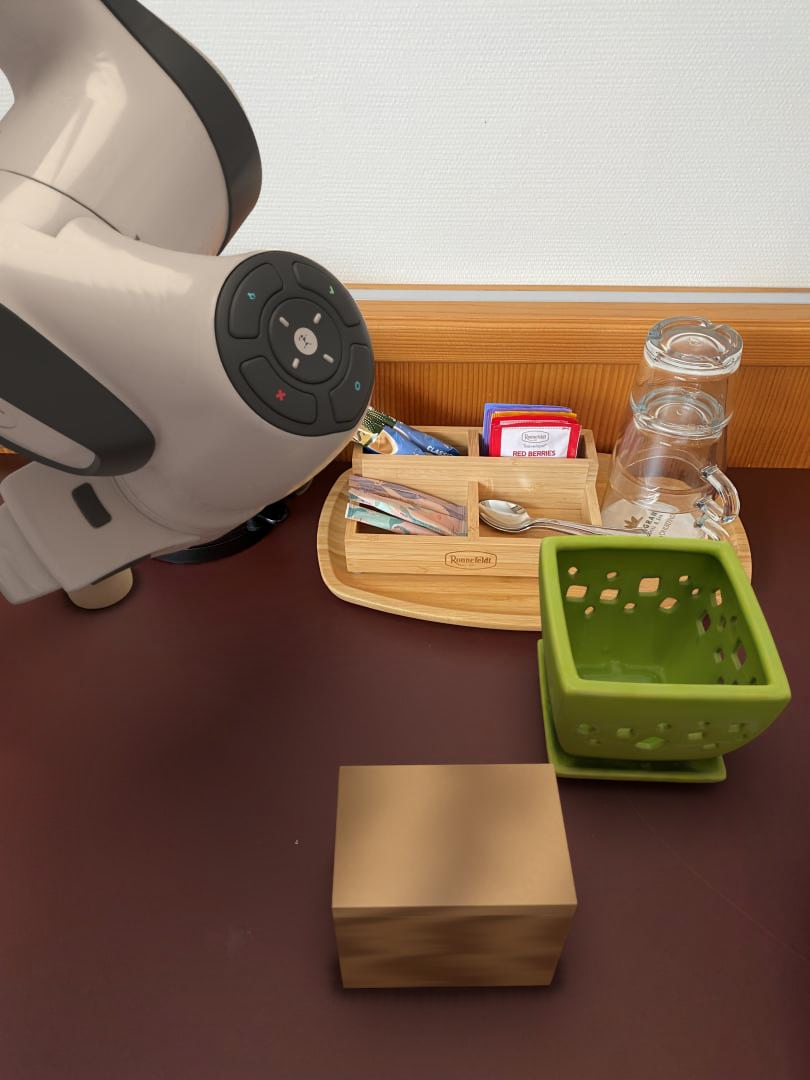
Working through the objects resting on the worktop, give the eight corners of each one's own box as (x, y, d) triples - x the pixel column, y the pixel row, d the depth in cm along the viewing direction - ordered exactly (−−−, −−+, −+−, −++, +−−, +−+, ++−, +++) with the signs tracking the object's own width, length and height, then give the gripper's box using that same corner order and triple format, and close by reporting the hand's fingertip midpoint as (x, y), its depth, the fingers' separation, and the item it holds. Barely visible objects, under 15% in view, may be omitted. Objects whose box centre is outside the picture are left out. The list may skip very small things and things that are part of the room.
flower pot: (534, 804, 55) (558, 691, 46) (519, 646, 65) (536, 530, 56) (740, 809, 54) (803, 697, 46) (692, 650, 64) (736, 534, 56)
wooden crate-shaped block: (343, 988, 46) (331, 907, 39) (348, 857, 52) (339, 765, 44) (550, 985, 46) (578, 904, 39) (532, 855, 52) (554, 763, 44)
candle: (55, 592, 69) (17, 504, 63) (105, 556, 73) (74, 469, 66) (96, 619, 67) (62, 531, 60) (146, 581, 70) (119, 493, 64)
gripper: (304, 338, 47) (230, 413, 59) (-35, 495, 37) (-44, 549, 48) (359, 430, 48) (275, 486, 60) (42, 610, 37) (15, 636, 49)
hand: (130, 516), depth 54 cm, fingers open, 8 cm apart
